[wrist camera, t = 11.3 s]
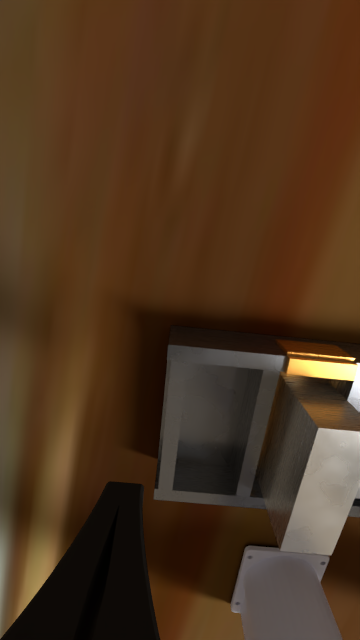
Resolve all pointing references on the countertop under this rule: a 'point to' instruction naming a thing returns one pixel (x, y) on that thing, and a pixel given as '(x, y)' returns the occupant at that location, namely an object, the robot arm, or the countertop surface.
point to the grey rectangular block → (309, 464)
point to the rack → (234, 408)
